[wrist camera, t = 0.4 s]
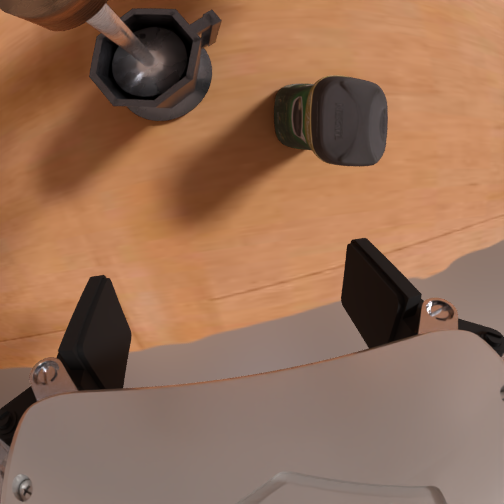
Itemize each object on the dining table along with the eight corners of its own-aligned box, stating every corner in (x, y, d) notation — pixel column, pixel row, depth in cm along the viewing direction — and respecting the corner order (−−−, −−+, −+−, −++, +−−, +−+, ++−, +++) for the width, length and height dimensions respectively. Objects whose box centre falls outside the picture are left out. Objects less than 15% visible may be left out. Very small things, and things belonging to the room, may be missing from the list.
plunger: (159, 15, 20) (99, -130, 1) (202, 65, 24) (217, -48, 4) (100, 61, 21) (-63, 12, 2) (141, 111, 25) (4, 130, 5)
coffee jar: (323, 146, 43) (393, 175, 27) (272, 147, 42) (322, 175, 25) (323, 85, 38) (398, 80, 22) (271, 82, 37) (323, 68, 21)
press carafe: (183, 13, 30) (177, -39, 15) (237, 78, 36) (262, 59, 21) (102, 75, 32) (49, 60, 17) (155, 139, 38) (128, 158, 23)
